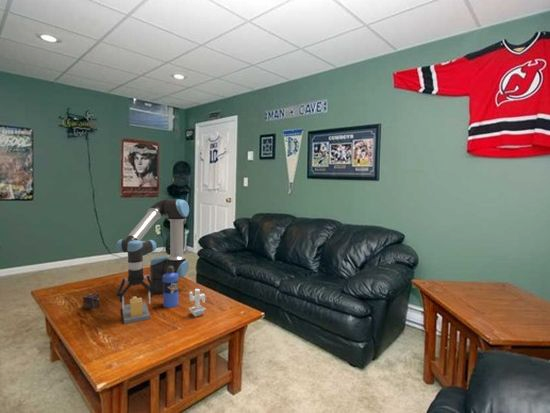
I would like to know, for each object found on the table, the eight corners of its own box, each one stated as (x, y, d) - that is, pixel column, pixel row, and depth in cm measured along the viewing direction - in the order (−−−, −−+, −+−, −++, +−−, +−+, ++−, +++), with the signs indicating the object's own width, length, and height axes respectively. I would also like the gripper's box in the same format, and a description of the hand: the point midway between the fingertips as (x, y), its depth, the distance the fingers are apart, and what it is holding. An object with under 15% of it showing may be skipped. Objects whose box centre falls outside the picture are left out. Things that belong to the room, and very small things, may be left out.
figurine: (207, 314, 178) (207, 289, 176) (192, 318, 172) (192, 292, 170) (202, 310, 183) (202, 286, 182) (187, 314, 177) (187, 289, 176)
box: (91, 309, 181) (91, 297, 180) (83, 308, 182) (82, 296, 181) (99, 305, 187) (99, 294, 186) (91, 304, 188) (90, 293, 187)
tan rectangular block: (141, 311, 176) (141, 297, 175) (142, 315, 171) (142, 301, 170) (130, 313, 173) (129, 299, 172) (131, 317, 168) (130, 303, 167)
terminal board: (145, 304, 189) (145, 292, 189) (150, 319, 170) (149, 305, 170) (122, 308, 183) (121, 295, 182) (124, 323, 164) (123, 309, 163)
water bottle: (181, 304, 190) (181, 265, 188) (167, 309, 184) (167, 268, 182) (173, 300, 197) (173, 262, 195) (160, 304, 190) (159, 265, 188)
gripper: (158, 263, 179) (159, 298, 181) (110, 269, 167) (111, 306, 169) (160, 267, 172) (161, 303, 175) (110, 273, 160) (111, 312, 162)
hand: (136, 305), depth 172 cm, fingers open, 13 cm apart
